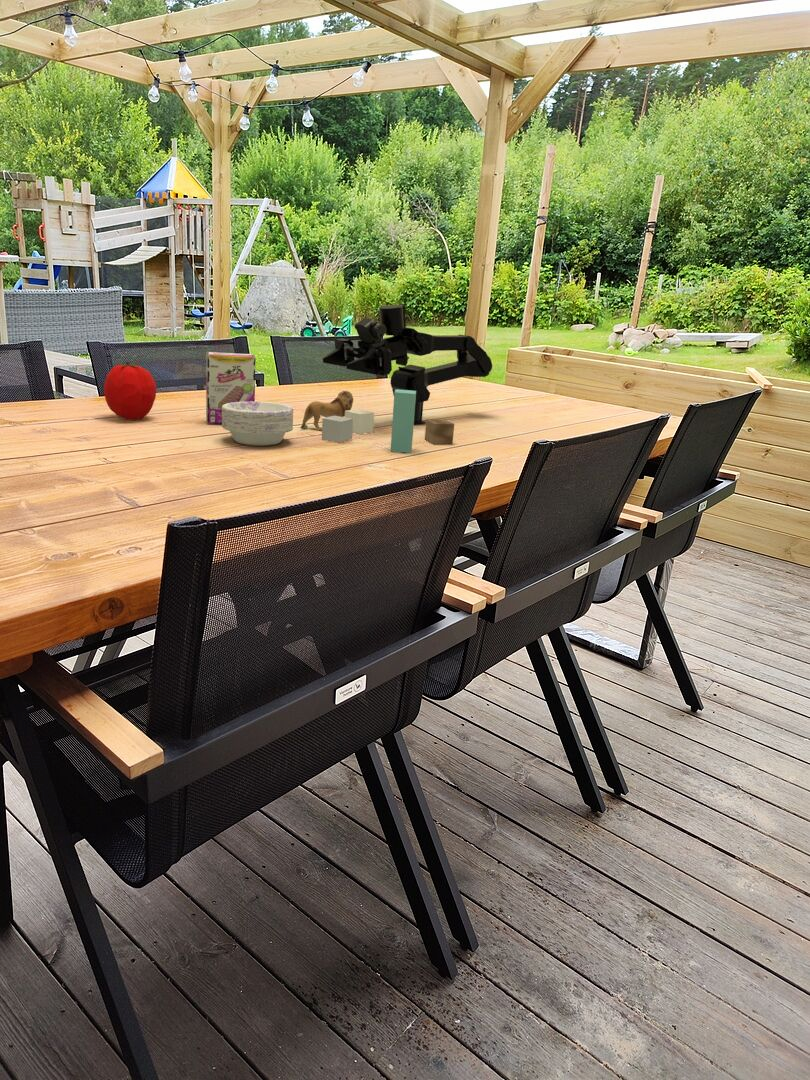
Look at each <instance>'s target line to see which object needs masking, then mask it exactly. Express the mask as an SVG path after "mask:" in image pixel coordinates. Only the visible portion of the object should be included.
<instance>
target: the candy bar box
mask: <svg viewBox="0 0 810 1080" xmlns="http://www.w3.org/2000/svg"><path fill="white" fill-rule="evenodd" d="M205 354H206V355H205V362H206V363H205V364H206V365H205V376H206V377H205V378H206V379H205V381H206V382H205V386H206V388H205V392H206V394H205V397H206V398H205V400H206V403H205V404H206V405H205V407H206V408H205V409H206V411H205V415H206V417H205V419H206V423H207V425H222V406H223V405H224V404H227V403H232V402H249V401H250V402H252V401H254V402H256V401H255V399H256V356H255V355H254V354H252V353H236V352H235V353H233V352H215V351H206V353H205Z"/></svg>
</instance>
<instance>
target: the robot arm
mask: <svg viewBox="0 0 810 1080" xmlns="http://www.w3.org/2000/svg"><path fill="white" fill-rule="evenodd" d="M378 307H379V320H380V321H379V322H378V321H377V320H374V319H373V318H369V317H368V318H367V317H363V318H362V319H360V320H358V322H357V323H355V324H354V329H355V330H356V332H357V335H358V337H359V339H360V340H357V346H358V347H357V346H354V342H353V341H351V339H348V338H343V337H341V338H337V339H335V340H334V346H335V347H334V349H333V350H332V351H331V352H329V353H328V354H326V355H325V356H323V358H322V363H324V364H328V365H334V366H339V367H344V368H345V367H346V370H351V371H357V372H361V373H365V374H371V375H375V376H382V377H385V376H388V375H390V374H391V372H392V370H393V369H392V368H393V366H392V365H393V363H392V362H393V361H395V364H396V365H398V368H397V369H395V370H394V371H393V372H392V375H391V377H390V387H391V390H392V394H393V396H394V392H395V390H396V389H399V390H411V391H416V400H415V413H414V425H422V424H424V425H425V424H426V420H423V415H424V413H423V411H424V410H423V409H424V402H428V401H429V399H430V397H431V392H430V390H429V389H428V387H429V386H431V385H436V384H441V383H443V382H445V383H446V382H448V381H452V380H455V379H456V380H457V379H461V378H464V377H470V378H471V377H474V378H486V377H489V375H490V372H491V371H492V369H493V363H492V358H491V357H490V356H489V355H488V353H487V352H486V351H485V350H484V349H483V348H482V347H481V346H480V345H479V344H478V343H477V342H476V341H477V340H475V338H474V337H473V336H471V335H466V334H465V335H464V334H457V335H454V334H453V335H446V334H445V335H442V334H441V335H433V334H429V333H425V332H422V331H421V332H419V331H417V330H416V329H415V328H412V327H407V323H406V322H407V320H406V305H405V304H392V305H391V304H390V305H388V304H385V305H380V306H378ZM378 323H379V324H378ZM384 336H389V337H385V338H383V337H384ZM436 351H437V352H440V351H446V352H447V351H456V359H457V360H456V361H453V362H450V363H446V364H444V363H443V364H440V365H437V366H433V367H429V368H428V367H427V368H426V367H425V366H424V367H423V366H420V365H415V364H408V361H409V360H410V357H409V356H408V355H412V356H420V357H421V356H426V355H430V354H432V353H433V352H436ZM407 364H408V365H407Z"/></svg>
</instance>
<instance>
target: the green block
mask: <svg viewBox="0 0 810 1080" xmlns="http://www.w3.org/2000/svg"><path fill="white" fill-rule="evenodd" d="M415 400H416V391H411V390H399V389H396V390H395V392H394V395H393V408H392V423H391V438H390V439H391V440H390V442H391V443H390V451H395V452H394V453H398V452H407V453H406V454H412V449H413V437H414V426H415V424H414V413H415Z"/></svg>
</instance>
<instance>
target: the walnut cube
mask: <svg viewBox="0 0 810 1080" xmlns="http://www.w3.org/2000/svg"><path fill="white" fill-rule="evenodd" d="M425 422H426V423H425V429H424V441H425V440H426V442H427V441H428V442H427V443H429V444H430V445H432V444H433V445H432V446H442V445H443V446H445V445H447V446H449V445H450V446H451V445H452V446H453V443H454V431H455V423H453V422H452V421H449V420H448V419H425Z"/></svg>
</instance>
